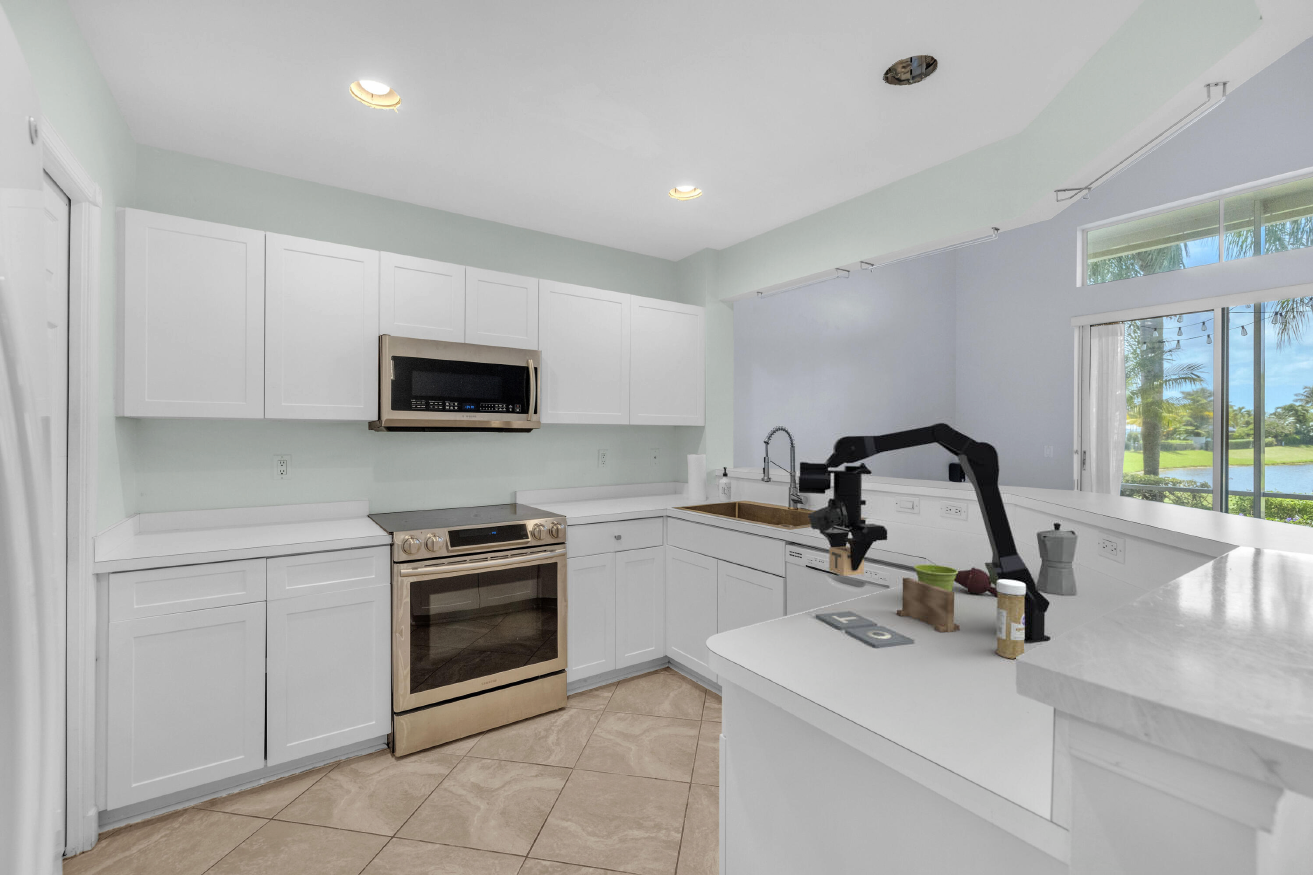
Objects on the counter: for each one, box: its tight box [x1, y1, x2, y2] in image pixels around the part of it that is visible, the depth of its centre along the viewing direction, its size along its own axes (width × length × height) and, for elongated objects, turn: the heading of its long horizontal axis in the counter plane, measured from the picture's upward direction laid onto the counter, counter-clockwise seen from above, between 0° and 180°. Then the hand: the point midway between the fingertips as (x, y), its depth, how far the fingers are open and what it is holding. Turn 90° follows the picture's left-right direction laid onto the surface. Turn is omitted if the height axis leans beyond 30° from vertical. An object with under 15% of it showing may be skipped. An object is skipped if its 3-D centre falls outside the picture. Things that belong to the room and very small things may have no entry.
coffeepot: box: [1036, 522, 1078, 597], centre depth 153 cm, size 15×9×18 cm, turn 118°
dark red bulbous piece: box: [954, 566, 998, 598], centre depth 149 cm, size 7×7×15 cm
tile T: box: [814, 610, 878, 631], centre depth 124 cm, size 9×9×1 cm
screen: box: [896, 577, 961, 633], centre depth 124 cm, size 13×5×8 cm, turn 18°
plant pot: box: [913, 564, 959, 592], centre depth 138 cm, size 9×9×9 cm
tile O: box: [844, 625, 915, 649], centre depth 114 cm, size 9×9×1 cm
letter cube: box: [828, 545, 865, 577], centre depth 124 cm, size 5×5×5 cm
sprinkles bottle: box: [995, 579, 1026, 660], centre depth 105 cm, size 5×5×14 cm
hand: (846, 567), depth 124 cm, fingers closed on letter cube, 5 cm apart
